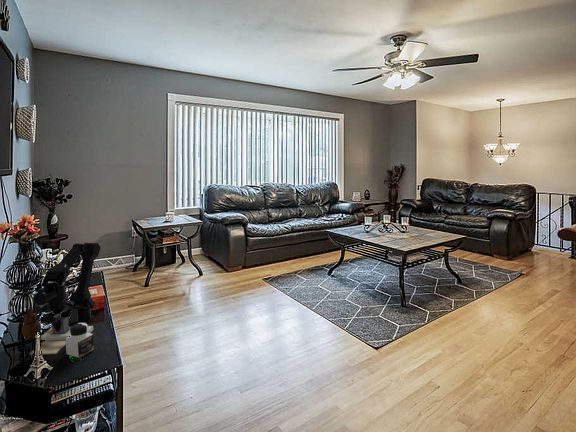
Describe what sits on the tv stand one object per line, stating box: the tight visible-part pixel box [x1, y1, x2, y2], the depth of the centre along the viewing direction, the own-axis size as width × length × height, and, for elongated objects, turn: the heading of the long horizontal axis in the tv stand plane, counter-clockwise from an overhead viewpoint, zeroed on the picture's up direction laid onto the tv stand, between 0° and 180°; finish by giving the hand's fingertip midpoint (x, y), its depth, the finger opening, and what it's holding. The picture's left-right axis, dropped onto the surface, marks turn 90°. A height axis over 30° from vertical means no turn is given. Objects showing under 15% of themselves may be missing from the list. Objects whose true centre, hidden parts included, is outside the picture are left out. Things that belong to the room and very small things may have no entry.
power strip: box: [40, 325, 94, 341], centre depth 155 cm, size 9×18×3 cm, turn 97°
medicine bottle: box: [65, 322, 95, 359], centre depth 141 cm, size 7×7×12 cm
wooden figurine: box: [21, 306, 42, 340], centre depth 151 cm, size 7×6×15 cm
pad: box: [29, 340, 66, 356], centre depth 144 cm, size 10×10×1 cm
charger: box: [51, 315, 70, 334], centre depth 154 cm, size 4×5×10 cm
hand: (60, 329), depth 154 cm, fingers closed on charger, 4 cm apart
